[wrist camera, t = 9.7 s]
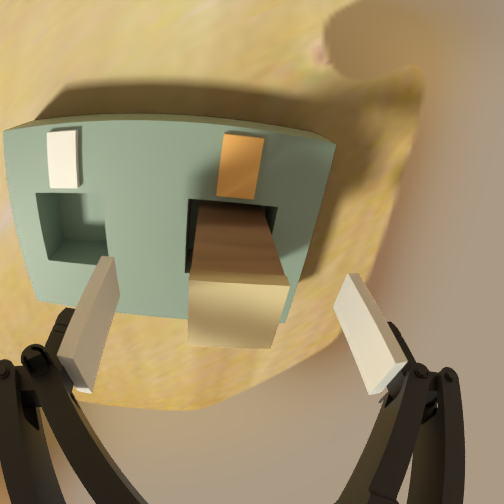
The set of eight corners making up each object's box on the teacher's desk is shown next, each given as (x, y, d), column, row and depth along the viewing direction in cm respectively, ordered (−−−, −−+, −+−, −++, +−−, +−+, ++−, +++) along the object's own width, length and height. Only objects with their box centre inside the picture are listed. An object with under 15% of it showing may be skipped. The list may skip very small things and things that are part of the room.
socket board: (33, 120, 17) (0, 132, 13) (315, 132, 21) (338, 145, 17) (54, 273, 25) (35, 303, 21) (276, 291, 29) (285, 326, 25)
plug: (200, 191, 22) (188, 280, 12) (259, 196, 22) (290, 286, 13) (196, 242, 24) (188, 345, 15) (250, 246, 25) (270, 348, 16)
